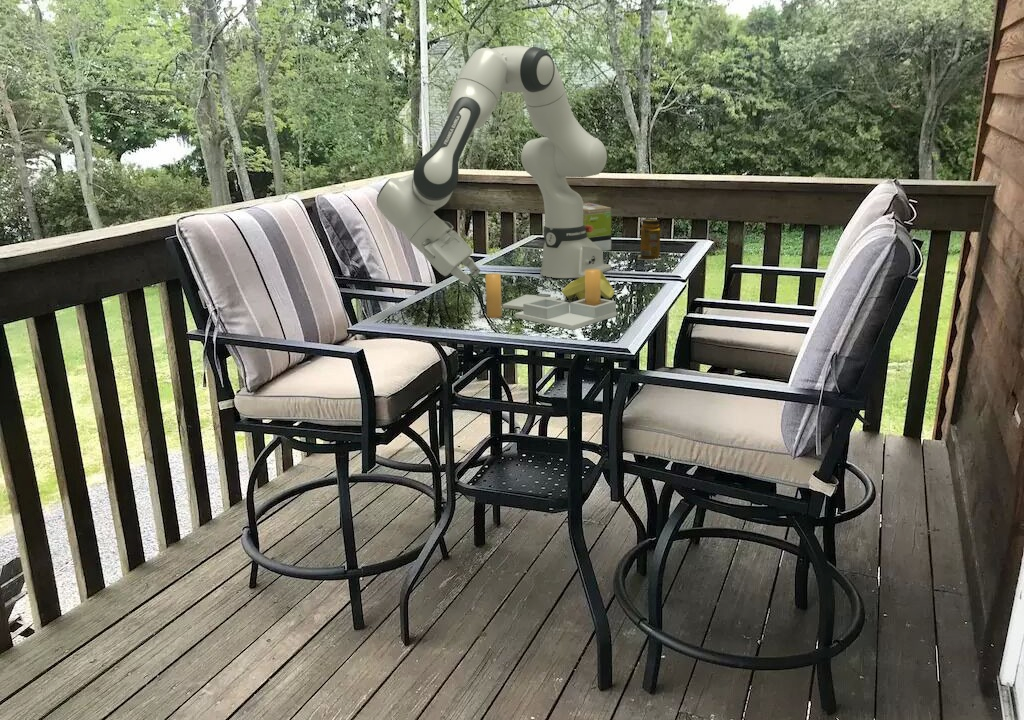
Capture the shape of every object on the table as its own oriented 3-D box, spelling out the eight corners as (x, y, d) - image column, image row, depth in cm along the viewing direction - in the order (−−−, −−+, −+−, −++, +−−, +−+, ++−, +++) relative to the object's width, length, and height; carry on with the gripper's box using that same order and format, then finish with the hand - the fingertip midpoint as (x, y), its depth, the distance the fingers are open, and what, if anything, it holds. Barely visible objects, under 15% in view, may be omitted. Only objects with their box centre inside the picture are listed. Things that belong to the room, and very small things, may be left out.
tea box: (564, 247, 285) (564, 204, 280) (589, 244, 288) (589, 202, 284) (586, 253, 271) (586, 208, 267) (612, 250, 275) (612, 206, 271)
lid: (528, 296, 215) (528, 292, 214) (562, 299, 210) (562, 295, 209) (502, 307, 204) (502, 303, 203) (537, 311, 199) (537, 307, 198)
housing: (559, 304, 205) (559, 261, 201) (616, 315, 192) (617, 269, 189) (515, 317, 194) (513, 271, 191) (572, 330, 182) (571, 281, 178)
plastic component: (569, 282, 219) (603, 266, 216) (581, 307, 219) (615, 291, 217) (558, 293, 200) (595, 276, 197) (571, 320, 201) (608, 303, 198)
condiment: (661, 255, 264) (662, 218, 260) (660, 260, 256) (661, 222, 252) (638, 255, 265) (638, 218, 261) (637, 260, 257) (637, 222, 253)
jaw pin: (494, 313, 198) (493, 272, 195) (505, 315, 196) (503, 274, 193) (483, 316, 196) (482, 275, 193) (494, 318, 194) (492, 277, 191)
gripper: (428, 234, 182) (473, 277, 183) (450, 221, 201) (491, 260, 202) (410, 254, 184) (454, 296, 185) (434, 239, 203) (474, 278, 205)
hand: (474, 277), depth 194 cm, fingers open, 8 cm apart
